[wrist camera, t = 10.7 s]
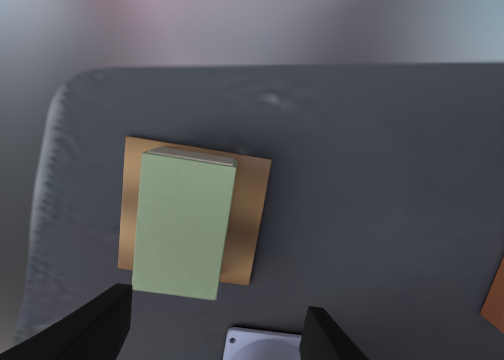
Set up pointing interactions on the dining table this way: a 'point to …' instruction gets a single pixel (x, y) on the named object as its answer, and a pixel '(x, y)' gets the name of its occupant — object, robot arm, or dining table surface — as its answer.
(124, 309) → the robot arm
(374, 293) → the dining table surface
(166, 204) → the pale green rectangular block
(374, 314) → the dining table surface
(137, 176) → the cork mat
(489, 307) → the hardback
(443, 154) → the dining table surface
